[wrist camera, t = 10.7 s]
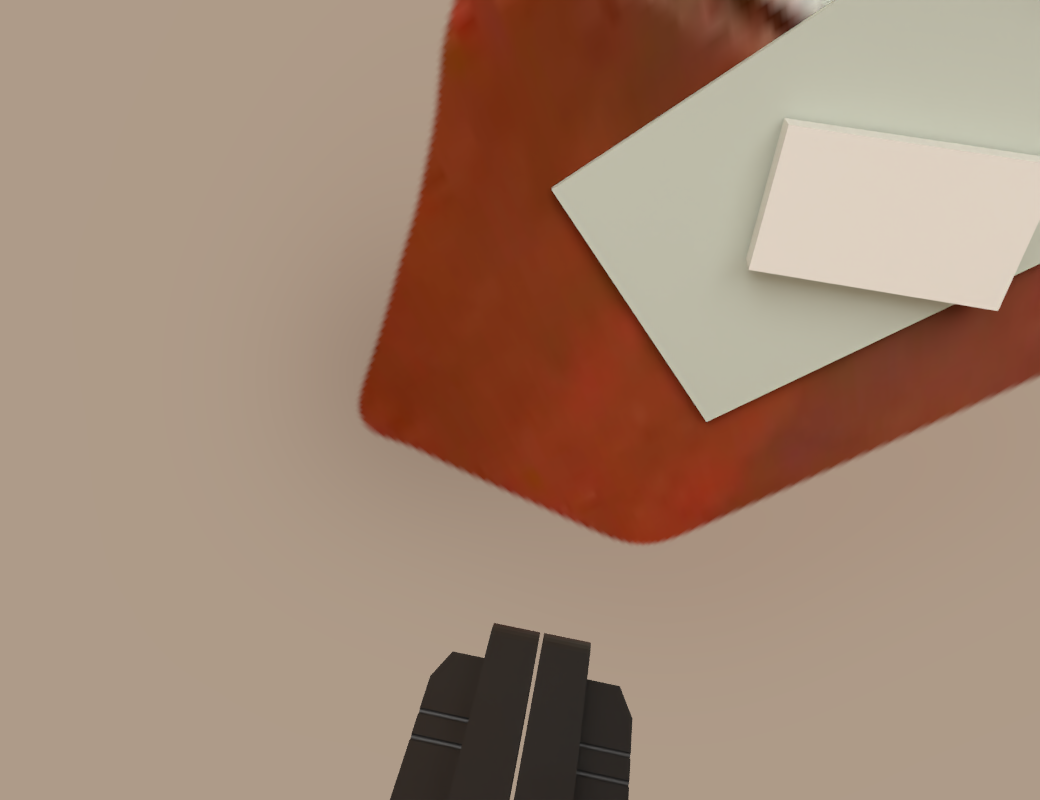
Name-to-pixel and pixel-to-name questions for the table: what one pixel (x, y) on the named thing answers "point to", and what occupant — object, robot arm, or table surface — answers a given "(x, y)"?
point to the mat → (746, 166)
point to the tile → (896, 213)
